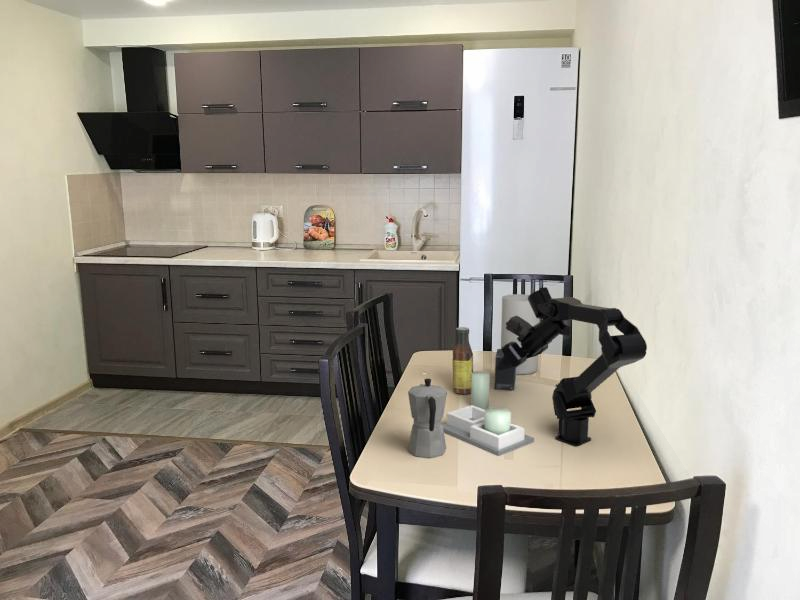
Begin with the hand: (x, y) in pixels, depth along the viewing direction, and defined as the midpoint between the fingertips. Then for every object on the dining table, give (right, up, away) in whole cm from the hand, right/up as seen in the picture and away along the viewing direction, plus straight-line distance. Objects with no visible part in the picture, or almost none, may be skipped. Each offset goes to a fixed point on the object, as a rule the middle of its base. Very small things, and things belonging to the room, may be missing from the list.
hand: (504, 365), depth 179 cm
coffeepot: (-22, -19, -23) cm, 37 cm away
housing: (-7, -17, -13) cm, 22 cm away
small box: (+4, -9, +27) cm, 29 cm away
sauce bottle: (-10, -10, +21) cm, 25 cm away
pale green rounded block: (-6, -13, +7) cm, 16 cm away
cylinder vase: (+12, -6, +43) cm, 45 cm away
